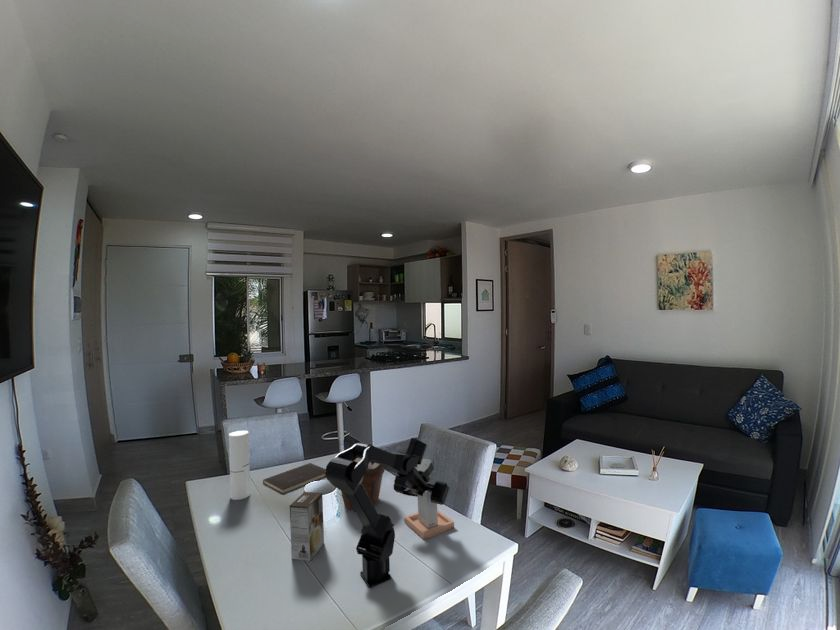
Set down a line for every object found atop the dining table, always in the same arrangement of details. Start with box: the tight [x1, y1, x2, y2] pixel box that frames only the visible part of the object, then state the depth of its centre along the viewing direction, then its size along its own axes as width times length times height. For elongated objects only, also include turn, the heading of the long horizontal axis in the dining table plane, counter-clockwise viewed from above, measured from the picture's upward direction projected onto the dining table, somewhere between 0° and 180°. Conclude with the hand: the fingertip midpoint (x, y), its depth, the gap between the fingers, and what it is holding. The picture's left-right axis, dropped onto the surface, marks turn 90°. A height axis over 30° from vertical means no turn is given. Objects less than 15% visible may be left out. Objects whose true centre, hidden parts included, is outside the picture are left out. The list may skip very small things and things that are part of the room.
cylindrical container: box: [228, 430, 251, 501], centre depth 156 cm, size 7×7×25 cm
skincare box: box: [417, 491, 438, 528], centre depth 131 cm, size 6×4×12 cm
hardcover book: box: [262, 462, 326, 494], centre depth 171 cm, size 16×23×2 cm
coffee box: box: [289, 491, 325, 562], centre depth 118 cm, size 9×6×16 cm
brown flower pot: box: [340, 458, 386, 511], centre depth 148 cm, size 18×20×18 cm
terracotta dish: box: [404, 509, 455, 540], centre depth 131 cm, size 12×12×2 cm
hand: (430, 498), depth 132 cm, fingers open, 7 cm apart
